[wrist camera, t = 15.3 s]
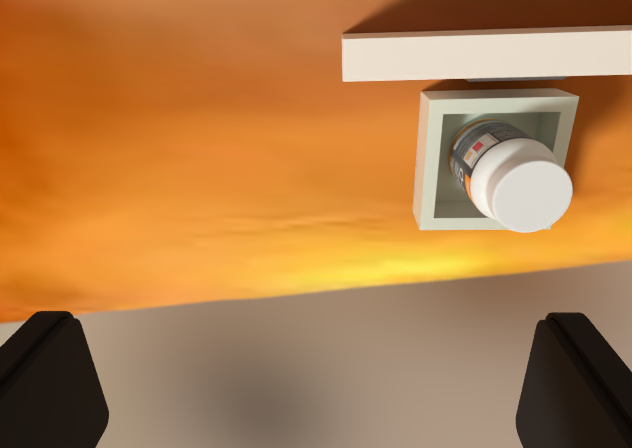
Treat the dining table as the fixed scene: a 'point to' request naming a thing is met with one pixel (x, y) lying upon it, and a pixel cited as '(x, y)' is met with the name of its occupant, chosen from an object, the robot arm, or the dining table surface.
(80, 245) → the dining table surface
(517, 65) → the board
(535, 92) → the pale green square tray
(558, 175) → the pill bottle
